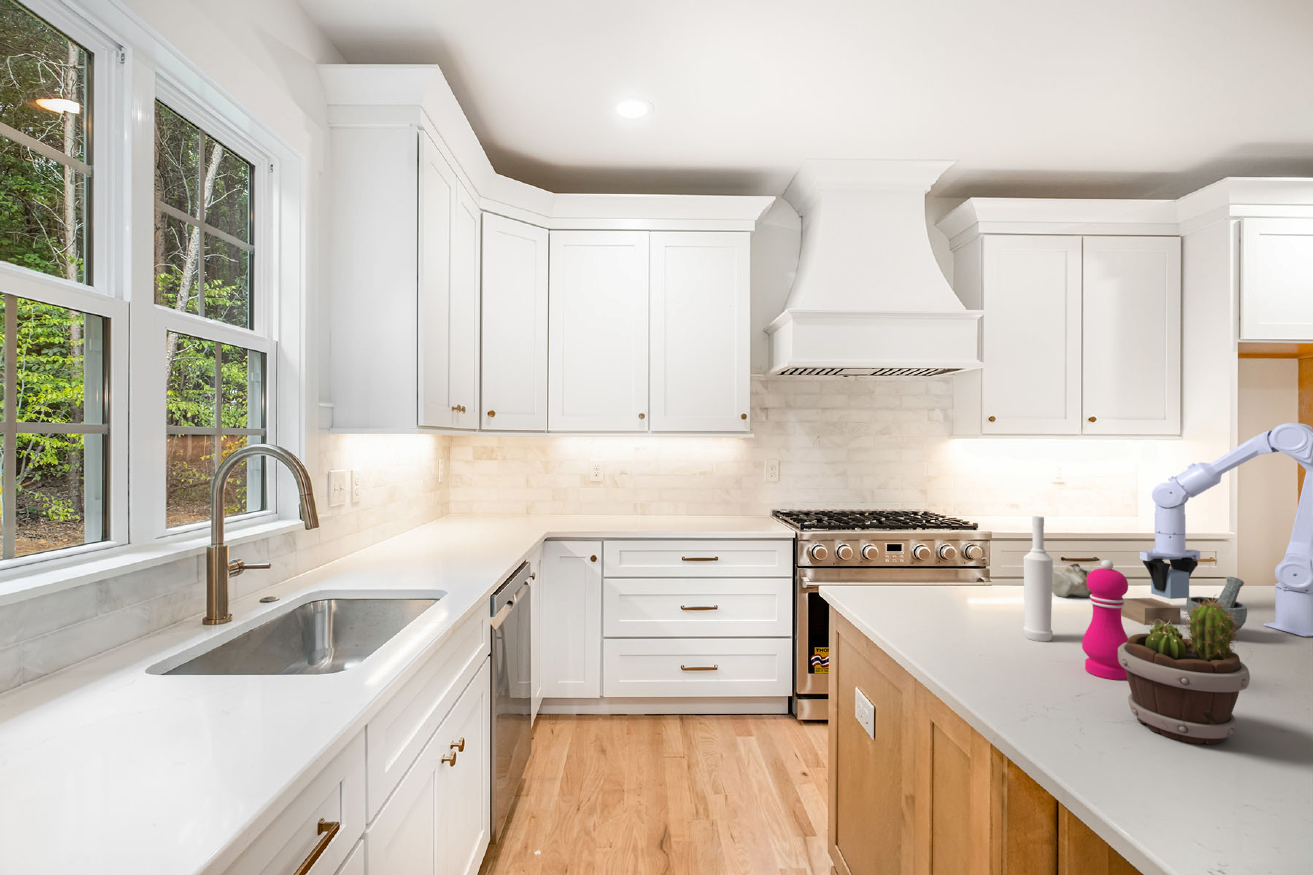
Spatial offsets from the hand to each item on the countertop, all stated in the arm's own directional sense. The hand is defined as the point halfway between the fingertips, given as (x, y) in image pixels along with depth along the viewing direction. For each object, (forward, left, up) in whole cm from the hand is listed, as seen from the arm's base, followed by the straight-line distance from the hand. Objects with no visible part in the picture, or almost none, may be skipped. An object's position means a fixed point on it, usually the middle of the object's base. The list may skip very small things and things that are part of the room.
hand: (1169, 589), depth 153 cm
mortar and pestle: (+9, +19, -5) cm, 21 cm away
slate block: (0, 0, -2) cm, 2 cm away
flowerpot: (+56, +54, -5) cm, 78 cm away
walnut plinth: (+13, +7, -5) cm, 15 cm away
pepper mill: (+49, +34, -5) cm, 60 cm away
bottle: (+47, +15, -5) cm, 50 cm away
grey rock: (+13, -14, -5) cm, 19 cm away
